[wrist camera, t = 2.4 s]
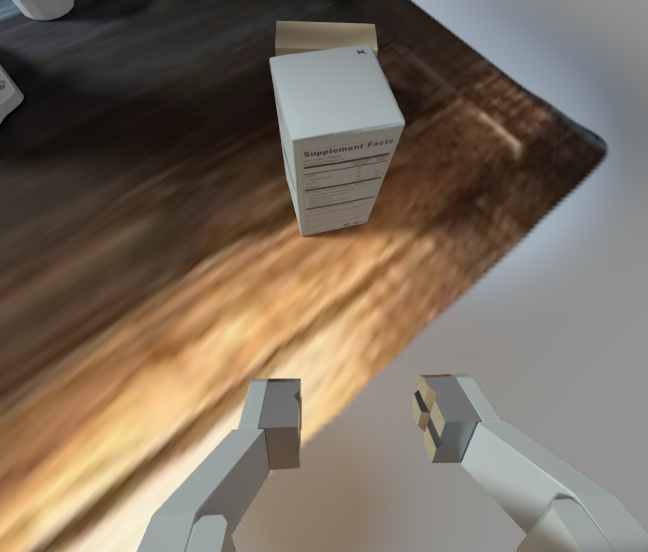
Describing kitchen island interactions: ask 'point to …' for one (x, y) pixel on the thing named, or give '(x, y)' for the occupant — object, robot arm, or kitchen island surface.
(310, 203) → the supplement box
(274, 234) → the kitchen island surface
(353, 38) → the block
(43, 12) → the white cup
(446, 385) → the robot arm
